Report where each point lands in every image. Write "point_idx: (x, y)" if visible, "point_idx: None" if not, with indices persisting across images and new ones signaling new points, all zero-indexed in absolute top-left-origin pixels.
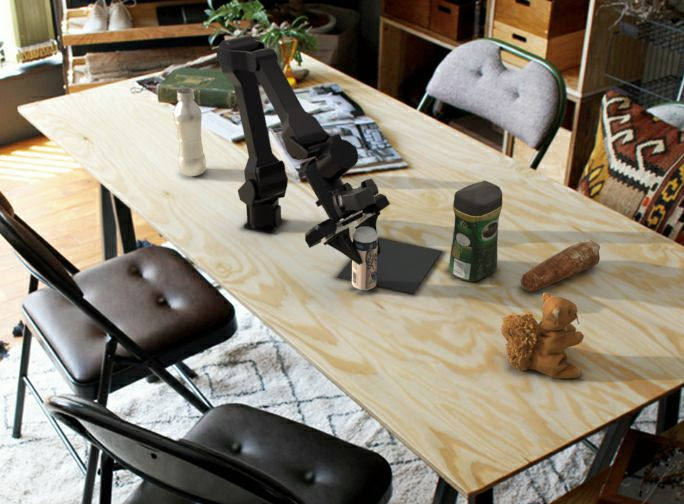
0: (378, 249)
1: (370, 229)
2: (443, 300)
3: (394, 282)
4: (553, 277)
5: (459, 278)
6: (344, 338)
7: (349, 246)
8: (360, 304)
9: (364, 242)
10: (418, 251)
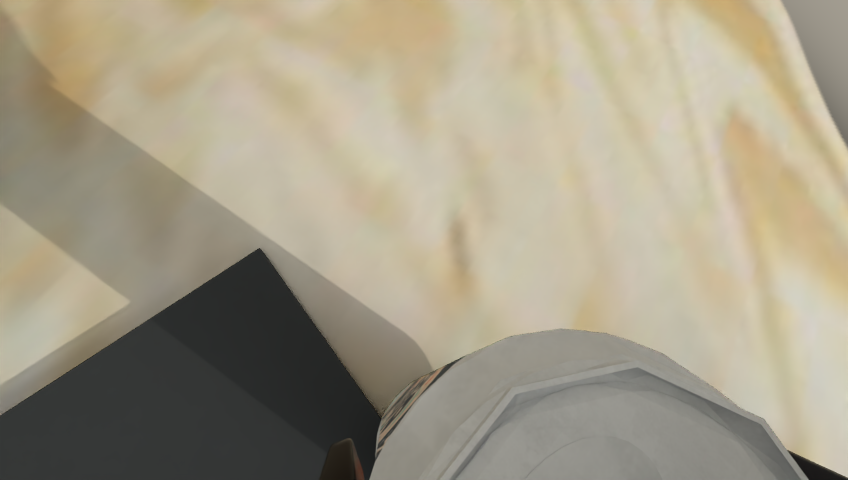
0: (348, 464)
1: None
2: (175, 144)
3: (274, 390)
4: None
5: None
6: (691, 129)
7: (838, 477)
8: (535, 304)
9: (681, 366)
10: None
